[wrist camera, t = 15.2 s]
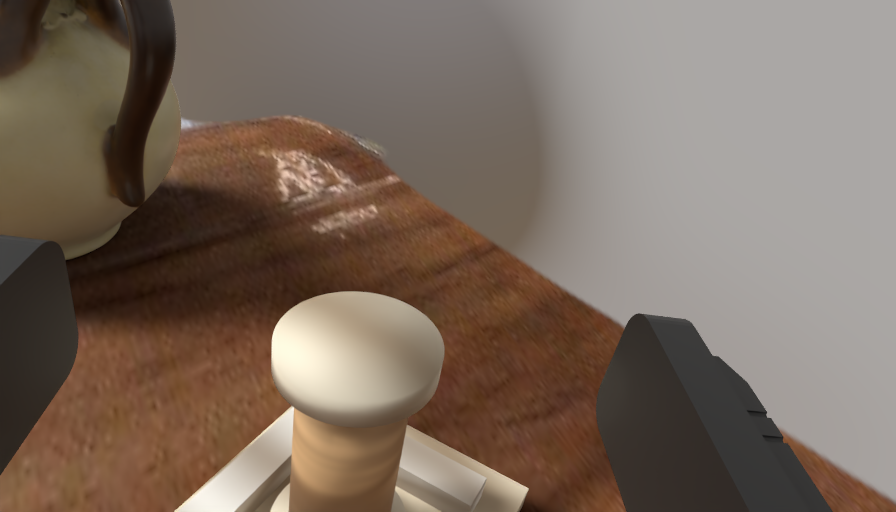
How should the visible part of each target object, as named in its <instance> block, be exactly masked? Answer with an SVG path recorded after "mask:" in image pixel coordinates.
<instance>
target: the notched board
mask: <svg viewBox="0 0 896 512" xmlns="http://www.w3.org/2000/svg"><path fill="white" fill-rule="evenodd" d="M293 418H294V407H293V406H291V407H290V408H289V409H288V410H287V411H286V412H285V413H284V414H282V415H281V416H280V417H279V418H278V419H277V420H276V421H275V422H274V423H272V424H271V425H270V426H269V427H268V428H267V429H266V430H265V431H264V432H262V433H261V434H260V435H259V436H258V437H257V438H256V439H255V440H254V441H252V442H251V443H250V444H249V445H248V446H247V447H246V448H245V449H243V450H242V451H241V452H240V453H239V454H238V455H237V456H236V457H235V458H233V459H232V460H231V461H230V462H229V463H228V464H227V465H226V466H225V467H223V468H222V469H221V470H220V471H219V472H218V473H217V474H216V475H215V476H213V477H212V478H211V479H210V480H209V481H208V482H207V483H206V484H205V485H203V486H202V487H201V488H200V489H199V490H198V491H197V492H196V493H194V494H193V495H192V496H191V497H190V498H189V499H188V500H187V501H186V502H184V503H183V504H182V505H181V506H180V507H179V508H178V509H177V510H176V511H174V512H270V511H271V508H272V506H273V504H274V502H275V500H276V499H277V497H278V495H279V494H280V493H281V492H282V490H283V489H284V488H285V487H286V486H287V485H288V484H289V483H290V476H291V457H292V437H293ZM528 489H529V488H527V487H525V486H523V485H521V484H519V483H517V482H515V481H513V480H511V479H509V478H508V477H506V476H504V475H502V474H500V473H498V472H496V471H494V470H492V469H490V468H488V467H487V466H485V465H483V464H481V463H479V462H477V461H475V460H473V459H471V458H469V457H467V456H466V455H464V454H462V453H460V452H458V451H456V450H454V449H452V448H450V447H448V446H446V445H445V444H443V443H441V442H439V441H437V440H435V439H433V438H431V437H429V436H427V435H425V434H424V433H422V432H420V431H418V430H416V429H414V428H412V427H410V426H408V425H407V428H406V433H405V438H404V444H403V449H402V455H401V460H400V465H399V471H398V476H397V482H396V487H395V491H396V492H397V493H398V495H399V497H400V498H401V500H402V502H403V505H404V508H405V511H406V512H520V510H521V508H522V506H523V503H524V500H525V498H526V495H527V492H528Z"/></svg>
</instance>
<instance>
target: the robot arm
mask: <svg viewBox="0 0 896 512" xmlns="http://www.w3.org/2000/svg"><path fill="white" fill-rule="evenodd" d="M77 348H78V328H77V323H76V317H75V311H74V306H73V300H72V294H71V289H70V283H69V278H68V272H67V266H66V261H65V256H64V253H63V250H62V248H61V247H60V245H59V244H58V243H56V242H55V241H49V240H41V239H32V238H24V237H16V236H8V235H0V475H1V473H2V472H3V471H4V469H5V468H6V466H7V465H8V463H9V462H10V460H11V459H12V457H13V456H14V454H15V453H16V452H17V450H18V449H19V447H20V446H21V444H22V443H23V441H24V440H25V438H26V437H27V436H28V434H29V433H30V431H31V430H32V428H33V427H34V425H35V424H36V422H37V421H38V419H39V418H40V417H41V415H42V414H43V412H44V411H45V409H46V408H47V406H48V405H49V403H50V402H51V400H52V399H53V398H54V396H55V395H56V393H57V392H58V390H59V389H60V387H61V386H62V384H63V383H64V382H65V380H66V378H67V377H68V375H69V373H70V371H71V369H72V367H73V364H74V361H75V358H76V353H77ZM766 414H767V411H766V410H765V408H764V407H763V405H762V404H761V402H760V401H759V399H758V398H757V396H756V395H755V393H754V392H753V390H752V389H751V388H750V386H749V384H748V383H747V382H746V381H745V380H743V378H742V377H741V376H739V375H738V374H737V373H736V372H735V371H734V370H733V369H732V368H731V367H729V366H728V365H727V364H726V363H725V362H724V361H723V360H722V359H721V358H719V357H717V356H712V354H711V353H710V351H709V349H708V348H707V346H706V345H705V343H704V341H703V340H702V338H701V337H700V335H699V333H698V332H697V330H696V329H695V327H694V326H693V324H692V323H691V322H690V321H688V320H686V319H679V318H671V317H663V316H654V315H646V314H636V315H634V316H633V317H632V318H631V319H630V320H629V321H628V323H627V325H626V327H625V330H624V332H623V334H622V337H621V339H620V341H619V343H618V346H617V348H616V350H615V353H614V355H613V357H612V360H611V362H610V364H609V367H608V369H607V371H606V374H605V376H604V378H603V381H602V383H601V385H600V388H599V392H598V396H597V404H596V416H597V423H598V428H599V431H600V434H601V437H602V440H603V443H604V446H605V449H606V452H607V455H608V458H609V461H610V464H611V467H612V470H613V473H614V476H615V479H616V482H617V485H618V488H619V491H620V494H621V496H622V499H623V502H624V505H625V508H626V511H627V512H833V511H832V510H831V508H830V507H829V505H828V504H827V502H826V501H825V499H824V498H823V496H822V495H821V493H820V492H819V490H818V489H817V487H816V486H815V484H814V483H813V481H812V480H811V478H810V477H809V475H808V474H807V472H806V471H805V469H804V468H803V466H802V465H801V463H800V461H799V460H798V458H797V457H796V455H795V454H794V452H793V451H792V449H791V448H790V446H789V445H788V444H787V443H783V436H782V434H781V433H780V431H779V430H778V428H777V427H776V425H775V424H774V422H773V421H772V419H771V418H767V416H766Z"/></svg>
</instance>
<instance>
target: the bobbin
mask: <svg viewBox="0 0 896 512" xmlns="http://www.w3.org/2000/svg"><path fill="white" fill-rule="evenodd" d="M443 358H444V344H443V340H442V337H441V334H440V333H439V331H438V329H437V328H436V326H435V325H434V324H433V323H432V321H431V320H430V319H429V318H428V317H426V316H425V315H424V314H423V313H421V312H420V311H419V310H417V309H416V308H414V307H412V306H411V305H409V304H406V303H404V302H402V301H400V300H397V299H395V298H391V297H388V296H385V295H380V294H375V293H368V292H357V291H346V292H335V293H329V294H324V295H320V296H316V297H313V298H310V299H308V300H306V301H303V302H301V303H299V304H298V305H296V306H295V307H293V308H292V309H290V310H289V311H288V312H287V313H285V315H284V316H283V317H282V318H281V319H280V320H279V322H278V324H277V325H276V327H275V330H274V332H273V337H272V360H271V371H272V377H273V381H274V383H275V385H276V388H277V389H278V391H279V392H280V394H281V395H282V396H283V398H284V399H285V400H286V401H287V402H288V403H289V404H291V405H292V406H293V407H294V418H293V437H292V457H291V476H290V483H289V484H288V485H287V486H286V487H285V488H284V489H283V490H282V492H281V493H280V494H279V495H278V497H277V499H276V500H275V502H274V504H273V506H272V508H271V511H270V512H406V511H405V508H404V505H403V502H402V500H401V498H400V497H399V495H398V493H397V492H396V491H395V487H396V482H397V476H398V471H399V465H400V460H401V455H402V449H403V444H404V438H405V433H406V428H407V422H408V417H409V416H411V415H413V414H414V413H416V412H418V411H419V410H420V409H421V408H423V407H424V406H425V405H426V404H427V403H428V402H429V401H430V399H431V398H432V396H433V395H434V393H435V391H436V389H437V386H438V382H439V377H440V373H441V368H442V363H443Z"/></svg>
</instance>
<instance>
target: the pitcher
mask: <svg viewBox="0 0 896 512" xmlns="http://www.w3.org/2000/svg"><path fill="white" fill-rule="evenodd" d="M120 1H121V4H122V7H123V8H122V7H121V5H120V4H119V2H118V0H0V235H8V236H16V237H24V238H32V239H41V240H49V241H55V242H56V243H58V244H59V245H60V247H61V248H62V250H63V253H64V256H65V260H69V259H73V258H76V257H79V256H82V255H84V254H87V253H89V252H91V251H94V250H95V249H97V248H99V247H101V246H102V245H104V244H105V243H107V242H108V241H109V240H110V239H111V238H112V237H113V236H114V235H115V234H116V233H117V231H118V230H119V228H120V225H121V221H122V220H124V219H125V218H126V217H128V216H129V215H130V214H131V213H132V212H134V211H135V210H136V209H137V208H138V207H140V206H141V205H142V204H143V203H144V202H145V201H146V200H147V199H148V198H149V197H150V196H151V195H152V193H153V192H154V191H155V190H156V189H157V188H158V186H159V185H160V184H161V182H162V181H163V180H164V178H165V176H166V175H167V173H168V171H169V169H170V168H171V165H172V163H173V161H174V158H175V155H176V152H177V149H178V144H179V139H180V132H181V114H180V107H179V102H178V98H177V95H176V92H175V89H174V87H173V85H172V82H171V80H170V78H171V74H172V70H173V66H174V60H175V52H176V31H175V21H174V15H173V10H172V6H171V2H170V0H120Z"/></svg>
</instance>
